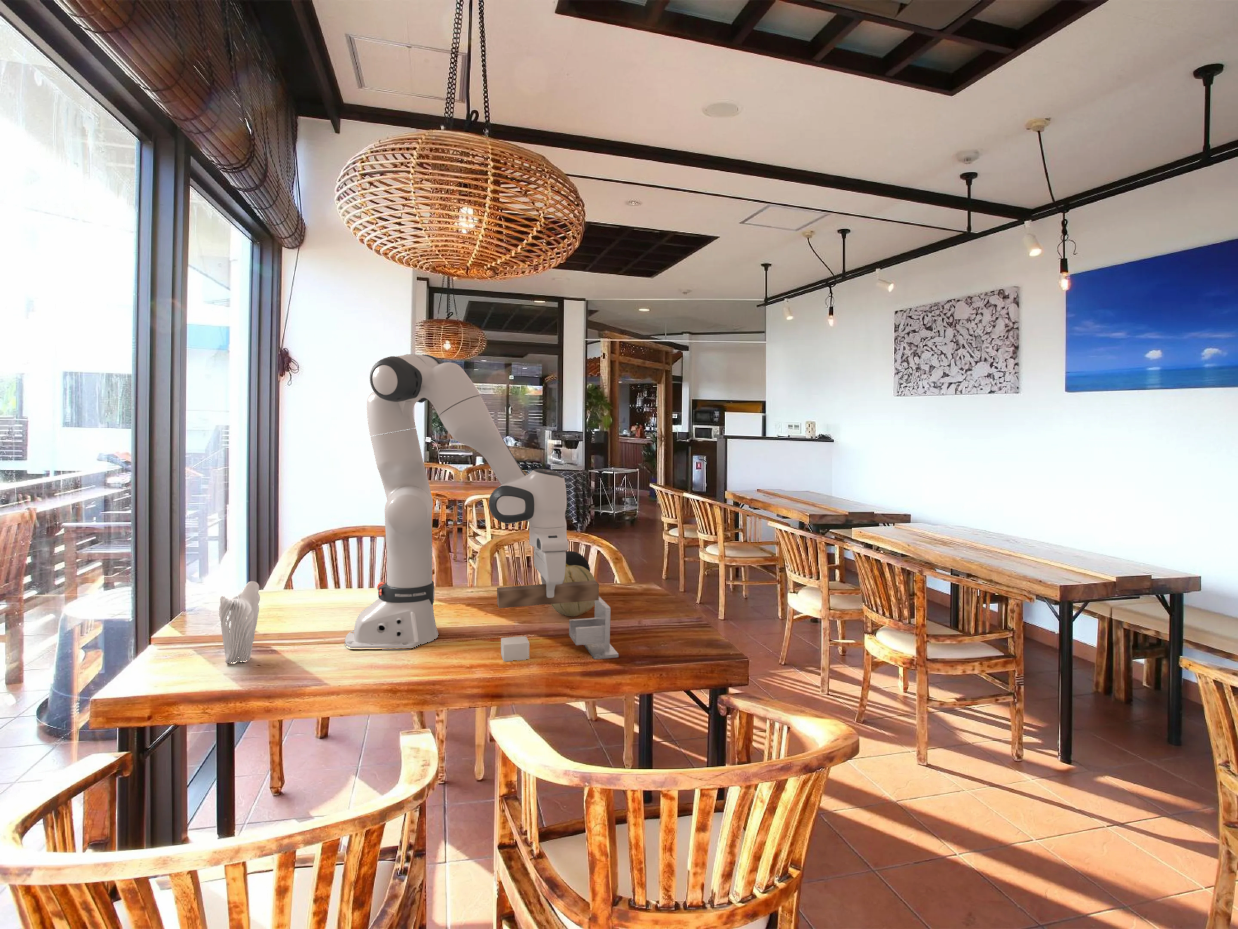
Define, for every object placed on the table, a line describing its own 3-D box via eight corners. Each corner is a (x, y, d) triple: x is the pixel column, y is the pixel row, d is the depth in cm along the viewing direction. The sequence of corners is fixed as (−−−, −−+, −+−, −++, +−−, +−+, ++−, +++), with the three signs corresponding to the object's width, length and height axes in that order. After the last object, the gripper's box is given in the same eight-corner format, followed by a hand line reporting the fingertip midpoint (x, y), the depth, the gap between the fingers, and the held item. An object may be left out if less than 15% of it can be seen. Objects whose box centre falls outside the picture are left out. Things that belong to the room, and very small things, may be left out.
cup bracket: (578, 660, 159) (579, 610, 159) (566, 644, 171) (567, 597, 170) (618, 657, 162) (619, 608, 162) (604, 641, 174) (606, 595, 173)
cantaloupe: (596, 623, 188) (597, 570, 187) (543, 622, 189) (544, 569, 188) (599, 608, 203) (600, 559, 202) (550, 607, 203) (551, 558, 202)
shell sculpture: (215, 670, 148) (213, 590, 147) (220, 658, 156) (219, 581, 155) (258, 666, 152) (256, 587, 150) (261, 654, 159) (260, 578, 158)
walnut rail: (499, 608, 157) (498, 591, 157) (497, 604, 161) (497, 587, 160) (598, 600, 164) (598, 583, 164) (595, 596, 167) (595, 580, 167)
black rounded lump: (557, 606, 205) (558, 557, 204) (541, 595, 217) (542, 549, 216) (596, 601, 211) (597, 553, 210) (579, 591, 223) (580, 546, 222)
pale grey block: (503, 661, 158) (503, 644, 158) (500, 654, 163) (501, 638, 162) (529, 659, 160) (529, 643, 159) (525, 652, 164) (526, 636, 164)
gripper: (527, 530, 170) (527, 584, 171) (542, 545, 151) (542, 606, 152) (552, 529, 172) (552, 583, 173) (570, 544, 152) (570, 604, 153)
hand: (547, 594), depth 162 cm, fingers closed on walnut rail, 3 cm apart
